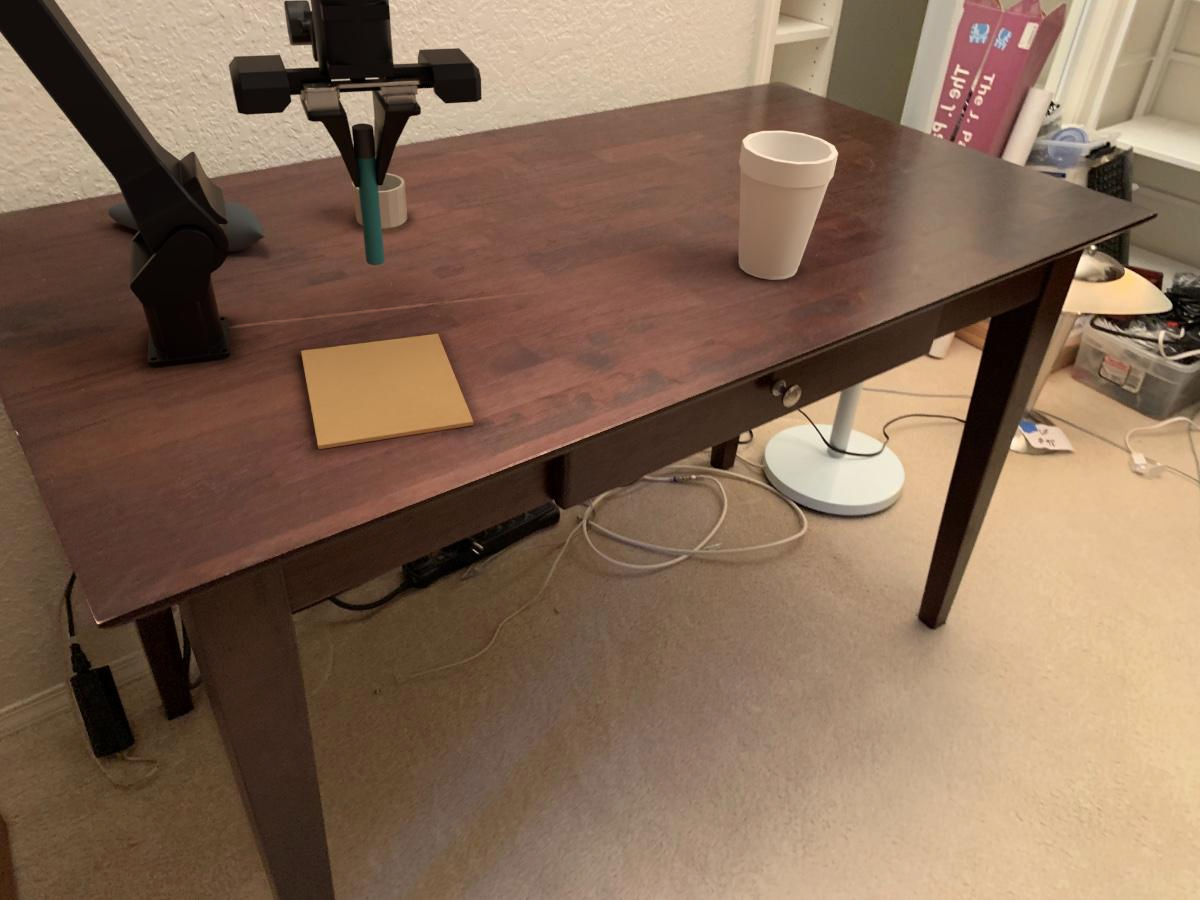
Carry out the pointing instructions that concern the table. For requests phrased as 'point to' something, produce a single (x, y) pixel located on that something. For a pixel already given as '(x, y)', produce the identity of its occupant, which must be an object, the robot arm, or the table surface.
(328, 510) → the table surface
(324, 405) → the desk mat
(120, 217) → the dark grey fabric pouch
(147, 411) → the table surface
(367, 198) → the pen
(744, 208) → the foam cup
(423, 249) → the table surface
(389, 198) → the pot
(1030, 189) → the table surface
